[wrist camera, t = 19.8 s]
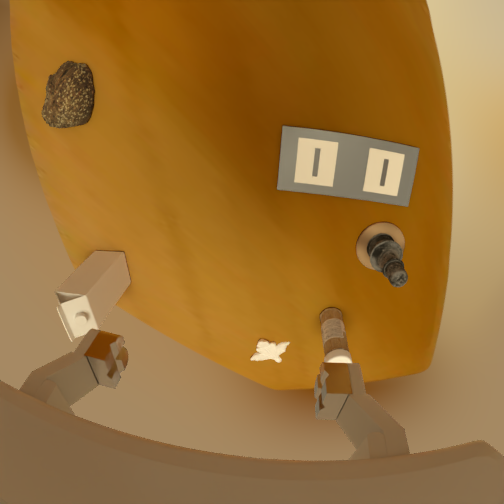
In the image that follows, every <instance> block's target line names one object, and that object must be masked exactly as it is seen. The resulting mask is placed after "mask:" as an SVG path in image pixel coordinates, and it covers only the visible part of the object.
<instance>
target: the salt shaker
mask: <svg viewBox="0 0 504 504" xmlns="http://www.w3.org/2000/svg"><path fill="white" fill-rule="evenodd" d="M367 253H368V255H369V256H370V263H371V265H372V267H373V268H374V269H375V270H377V271H379V272H383V275H384V276H385V277H387V278H388V279H389V281H390V283H391V284H392V285H393V286H394V287H401V286H403V285H404V284H405V283H406V282H407V279H408V276H407V273H406V271H405V270H404V264H403V262H402V261H401V260H402V257H403V251H402V248H401V246H400V245H399V244H398V243H397V242H395V241H394V239H393V238H392V237H391V236H390V235H389V234H386V233H380V234H377V235H374V236H373V237H372V238H371V239H370V240H369V242H368V244H367Z"/></svg>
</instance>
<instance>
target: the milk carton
mask: <svg viewBox="0 0 504 504" xmlns="http://www.w3.org/2000/svg"><path fill="white" fill-rule="evenodd" d="M130 283H131V280H130V275H129V271H128V267H127V263H126V258H125V254H124V252H115V251H94V252H93V253H92V254H91V255H90V256H89V257H88V258H87V259H86V260H85V261H84V262H83V263H82V264H81V265H80V266H79V267H78V268H77V269H76V270H75V271H74V272H73V273H72V274H71V275H70V276H69V277H68V278H67V279H66V280H65V281H64V282H63V283H62V284H61V285H60V287H58V289H57V290H56V291H55V294H56V296H57V299H58V301H59V305H58V306H57V311H58V313H59V315H60V318H61V320H62V322H63V325H64V327H65V329H66V331H67V334H68V336H69V338H70V340H71V342H72V341H73V340H74V338H76V337H79V336H82V335H85V334H87V332H88V331H89V330H90V329H92V328H93V329H97V330H98V328H99V327H100V326H101V325H102V323H103V321H104V320H105V319H106V317H107V316H108V314H109V313H110V311H111V310H112V308H113V307H114V306H115V304H116V303H117V301H118V300H119V299H120V297H121V296H122V294H123V293H124V292H125V290H126V289H127V287H128V286H129V285H130Z"/></svg>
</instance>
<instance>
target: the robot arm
mask: <svg viewBox="0 0 504 504" xmlns="http://www.w3.org/2000/svg"><path fill="white" fill-rule="evenodd" d="M124 343H125V341H124V338H123V336H120V335H116V334H112V333H109V332H105V331H100V330H97V329H93V328H92V329H90V330H89V331H88V332H87V334H86V335H85V337H84V338H83V340H82V341H81V343H80V344H79V346H78V347H77V348H76V350H75V351H74V352H70V353H68V354H66V355H64V356H62V357H60V358H58V359H56V360H54V361H52V362H50V363H48V364H46V365H44V366H42V367H40V368H38V369H36V370H34V371H32V372H31V374H30V375H29V377H28V378H27V379H26V381H25V382H24V384H23V385H22V387H21V388H20V390H18V389H16V388H14V387H12V386H10V385H8V384H6V383H4V382H3V381H1V380H0V504H504V456H503V455H502V454H501V453H500V452H498V451H497V450H496V449H495V448H494V447H492V446H491V445H490V444H488V443H487V442H485V441H483V440H477V441H472V442H468V443H464V444H460V445H456V446H451V447H447V448H442V449H437V450H432V451H426V452H420V453H414V454H410V452H409V447H408V443H407V438H406V434H405V429H404V428H403V427H402V426H401V425H400V424H399V423H398V422H397V421H396V420H395V419H393V418H392V416H390V414H388V413H387V411H386V410H384V409H383V408H382V407H381V406H380V405H379V404H378V403H377V402H376V401H375V400H374V399H373V398H372V397H371V396H370V395H369V394H366V392H365V387H364V382H363V377H362V373H361V368H360V365H359V363H331V362H322V364H321V366H320V374H319V375H317V378H316V382H315V398H316V399H317V403H316V405H315V412H316V419H325V420H336V422H337V423H338V424H339V426H340V427H341V429H342V430H343V431H344V433H345V434H346V435H347V437H348V438H349V440H350V441H351V442H352V444H353V445H354V447H355V448H356V449H357V450H356V451H355V452H354V454H353V455H352V456H351V457H350V459H349V460H336V461H299V460H277V459H263V458H252V457H243V456H234V455H227V454H220V453H213V452H207V451H201V450H195V449H190V448H185V447H180V446H175V445H171V444H166V443H162V442H158V441H154V440H150V439H145V438H142V437H138V436H135V435H131V434H128V433H124V432H121V431H118V430H115V429H112V428H109V427H106V426H102V425H100V424H97V423H94V422H91V421H88V420H86V419H83V418H80V417H78V416H75V414H74V412H73V411H72V409H71V408H70V406H71V405H73V404H74V403H75V402H77V401H78V400H79V399H80V398H82V397H83V396H85V395H86V394H87V393H89V392H90V391H91V390H93V389H94V388H96V387H97V386H98V384H99V385H102V386H106V387H110V388H114V389H115V388H116V386H117V384H118V382H119V380H120V378H121V376H120V373H121V372H122V371H124V370H125V368H126V366H127V363H128V351H127V349H126V348H125V347H124V346H123V345H124Z"/></svg>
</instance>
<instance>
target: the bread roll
mask: <svg viewBox="0 0 504 504" xmlns="http://www.w3.org/2000/svg"><path fill="white" fill-rule="evenodd" d="M48 78H49V80H48V83H47V86H46V98H45V103H44V106H43V110H42V117H43V119H44V120H45V121H46V123H48V124H49V126H51V127H57V128H67V127H73V126H78V125H82V124H85V123H86V122H88V120H89V119H90V117H91V112H92V109H93V106H94V104H93V101H94V92H95V90H94V86H93V78H92V72H91V70H90V68H89V67H88V66H87V65H86V64H81V63H79V64H77V63H73V62H72V61H67V62H65V63H64V64H63V65H61V66H60V68H59V69H58V70H57V72H56V73H55V74H53V75H50V76H49V77H48Z"/></svg>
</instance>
